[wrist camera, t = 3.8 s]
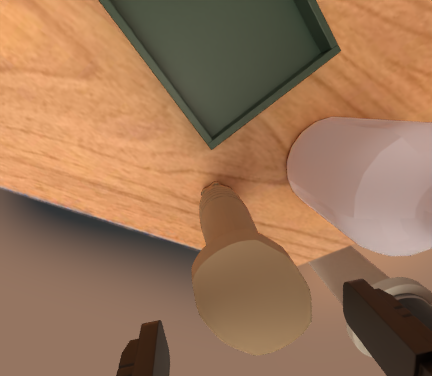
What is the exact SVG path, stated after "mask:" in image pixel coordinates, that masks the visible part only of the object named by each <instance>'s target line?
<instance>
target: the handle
mask: <svg viewBox="0 0 432 376" xmlns="http://www.w3.org/2000/svg"><path fill="white" fill-rule="evenodd" d="M201 195H202V197H201V200H200V206H199V216H200V224H201V228H202V232H203V235H204V239H205V242H206V246H205V247H204V248H203V249H202V250H201V251H200V252H199V254H198V255H197V257H196V259H195V261H194V263H193V265H192V284H193V290H194V296H195V301H196V305H197V309H198V312H199V315H200V316H201V318H202V319H203V321H204V322H205V323H206V325H207V326H208V327H209V328H210V329H211V330H212V332H213V333H214V334H215V335H216V336H217V337H218V338H219V339H220V340H221V341H222V342H224V343H226V344H227V345H229V346H231V347H233V348H236V349H238V350H241V351H243V352H246V353H249V354H251V355H263V354H269V353H272V352H274V351H277V350H279V349H281V348H283V347H285V346H287V345H289V344H290V343H292V342H293V341H295V340H296V339H297V338H298V337H300V336H301V335H302V334H303V333H304V331H305V330H306V329H307V328H308V326H309V324H310V323H311V321H312V306H311V295H310V289H309V287H308V285H307V283H306V281H305V279H304V278H303V276H302V275H301V273H300V272H299V270H298V268H297V267H296V265H295V264H294V262H293V261H292V259H291V258H290V256H289V255H288V254H287V252H286V251H285V250H284V249H283V247H281V246H280V245H278V244H277V243H275V242H274V241H272V240H271V239H269V238H267V237H265V236H264V235H262V234H260V233H258V231H257V229H256V227H255V224H254V222H253V220H252V218H251V216H250V213H249V211H248V209H247V207H246V206H245V204H244V203H243V201H242V200H241V199H240V198H239V196H238V195H237V194H236V193H235V192H234V191H233V190H232V189H231V188H230V187H229V186H223V185H221V184H219V183H218V182H213V183H212V184H211V185H210V186H209V187H207V188H204V189H203V190H202V192H201Z"/></svg>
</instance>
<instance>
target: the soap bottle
mask: <svg viewBox="0 0 432 376" xmlns="http://www.w3.org/2000/svg"><path fill="white" fill-rule="evenodd" d="M287 178H288V181H289V183H290V185H291V188H292V190H293V192H294V193H295V194H296V195H297V196H298V197H299V198H300V199H301V200H302V201H303V202H305V203H306V204H307V205H308V206H310V207H311V208H312V209H313V210H315V211H316V212H317V213H319V214H320V215H321V216H322V217H324V218H325V219H326V220H327V221H329V222H330V223H331V224H332V225H334V226H335V227H336V228H338V229H339V230H340V231H341V232H343V233H344V234H345V235H346V236H348V237H349V238H350V239H351V240H353V241H354V242H355V243H357V244H358V245H359V246H361V247H363V248H366V249H369V250H371V251H374V252H377V253H380V254H384V255H388V256H411V255H414V254H417V253H420V252H423V251H426V250H429V249H431V248H432V123H431V122H415V121H398V120H381V119H365V118H348V117H329V118H326V119H323V120H320V121H317V122H315V123H313V124H312V125H311V126H309V127H308V128H307V129H305V130H304V131H303V132H302V133H301V134H300V135H299V137H298V138H297V140H296V141H295V143H294V144H293V145H292V147H291V150H290V154H289V157H288V160H287Z"/></svg>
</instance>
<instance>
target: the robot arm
mask: <svg viewBox="0 0 432 376" xmlns="http://www.w3.org/2000/svg"><path fill="white" fill-rule="evenodd" d="M343 312H344V316H345V319H346V321H347V323H348V325H349V326H350V328H351V329H352V330H353V332H354V333H355V334H356V336H357V337H358V338H359V339H360V341H361V342H362V343H363V345H364V346H365V347H366V349H367V350H368V351H369V353H370V354H371V355H372V357H373V358H374V359H375V361H376V362H377V363H378V365H379V366H380V367H381V369H382V370H383V371H384V373H385V374H386V375H387V376H432V306H431V305H430V304H429V303H428V302H427V301H426V300H425V299H423V298H422V297H420V296H418V295H415V294H410V293H404V294H398V295H394V296H392V295H390V294H388V293H386V292H384V291H383V290H381V289H374V288H373V287H371V286H370V285H369V284H368V283H367V282H366V281H365V280H364V279H358V280H353V281H348V282H345V283H344V284H343ZM169 370H170V355H169V349H168V345H167V340H166V337H165V333H164V329H163V325H162V322H161V320H158V321H154V322H148V323H144V324H142V326H141V331H140V335H139V339H135V340H131V341H130V342H129V343H128V345H127V347H126V348H125V349H124V351H123V352H122V355H121V359H120V363H119V369H118V371H117V375H116V376H169Z"/></svg>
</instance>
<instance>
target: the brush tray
mask: <svg viewBox="0 0 432 376" xmlns="http://www.w3.org/2000/svg"><path fill="white" fill-rule="evenodd" d="M99 1H100V3H101V4H102V5H103V7H104V8H105V9H106V11H107V12H108V13H109V15H110V16H111V17H112V19H113V20H114V21H115V23H116V24H117V25H118V26H119V28H120V29H121V30H122V32H123V33H124V34H125V36H126V37H127V38H128V40H129V41H130V42H131V44H132V45H133V46H134V48H135V49H136V50H137V52H138V53H139V54H140V56H141V57H142V58H143V60H144V61H145V62H146V64H147V65H148V66H149V68H150V69H151V70H152V72H153V73H154V74H155V76H156V77H157V78H158V80H159V81H160V82H161V84H162V85H163V86H164V88H165V89H166V90H167V92H168V93H169V94H170V96H171V97H172V98H173V100H174V101H175V102H176V104H177V105H178V106H179V108H180V109H181V110H182V111H183V113H184V114H185V115H186V117H187V118H188V119H189V121H190V122H191V123H192V125H193V126H194V127H195V129H196V130H197V131H198V133H199V134H200V135H201V137H202V138H203V139H204V141H205V142H206V143H207V145H208V146H209V147H210V149H211V150H212V149H213V148H215V147H216V146H217V145H219V144H220V143H221V142H223V141H224V140H225V139H227V138H228V137H229V136H231V135H232V134H233V133H234V132H236V131H237V130H238V129H240V128H241V127H242V126H244V125H245V124H246V123H248V122H249V121H250V120H251V119H253V118H254V117H255V116H257V115H258V114H259V113H261V112H262V111H263V110H265V109H266V108H267V107H268V106H270V105H271V104H272V103H274V102H275V101H276V100H278V99H279V98H280V97H282V96H283V95H284V94H285V93H287V92H288V91H289V90H291V89H292V88H293V87H295V86H296V85H297V84H299V83H300V82H301V81H303V80H304V79H305V78H306V77H308V76H309V75H310V74H312V73H313V72H314V71H316V70H317V69H318V68H320V67H321V66H322V65H323V64H325V63H326V62H327V61H329V60H330V59H331V58H333V57H334V56H335V55H337V54H338V53H339V52H340V51H341V50H340V48H339V46H338V45H337V42H336V40H335V38H334V36H333V34H332V32H331V30H330V28H329V26H328V24H327V22H326V20H325V18H324V16H323V14H322V12H321V10H320V8H319V6H318V4H317V2H316V0H99Z"/></svg>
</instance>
